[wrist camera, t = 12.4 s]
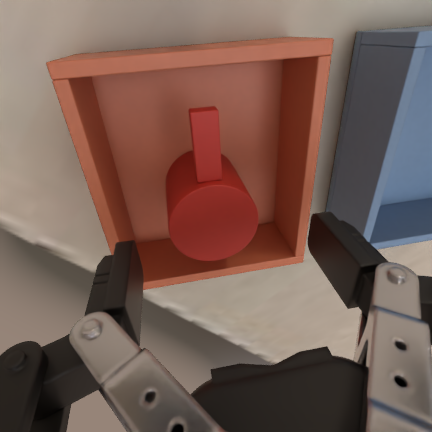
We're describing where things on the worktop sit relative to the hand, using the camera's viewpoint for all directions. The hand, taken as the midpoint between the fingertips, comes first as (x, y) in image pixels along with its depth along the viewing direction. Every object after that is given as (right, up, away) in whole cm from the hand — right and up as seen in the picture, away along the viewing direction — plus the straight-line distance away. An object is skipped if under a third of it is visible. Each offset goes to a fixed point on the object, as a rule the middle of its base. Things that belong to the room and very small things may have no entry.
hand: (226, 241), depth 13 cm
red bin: (-2, +5, +5) cm, 7 cm away
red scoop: (-1, +5, +5) cm, 7 cm away
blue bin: (+13, +7, +7) cm, 17 cm away
